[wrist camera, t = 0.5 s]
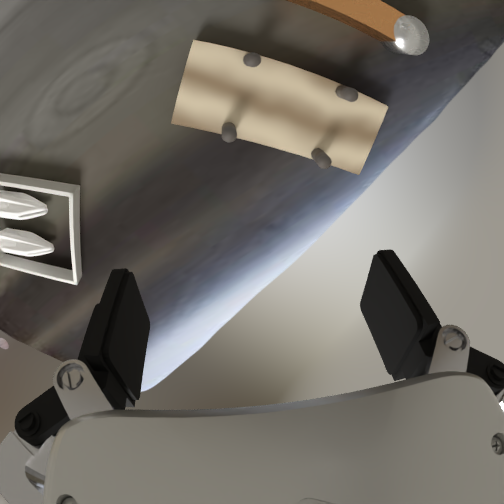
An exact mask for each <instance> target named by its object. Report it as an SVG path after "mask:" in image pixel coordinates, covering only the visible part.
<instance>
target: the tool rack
mask: <svg viewBox="0 0 504 504" xmlns="http://www.w3.org/2000/svg"><path fill="white" fill-rule="evenodd" d="M387 109H388V106H386V105H384V104H382V103H380V102H378V101H376V100H374V99H372V98H370V97H368V96H366V95H364V94H362V93H359V92H357V90H356V89H354V88H351V87H347V86H344V85H341V84H339V83H337V82H334V81H332V80H329V79H327V78H324V77H322V76H319V75H317V74H314V73H311V72H309V71H306V70H303V69H300V68H297V67H295V66H292V65H289V64H286V63H283V62H280V61H276V60H273V59H270V58H267V57H263V56H260V55H259V54H257V53H255V52H252V53H249V52H245V51H242V50H238V49H234V48H230V47H225V46H221V45H217V44H212V43H207V42H202V41H197V40H193V43H192V46H191V50H190V53H189V56H188V60H187V63H186V67H185V70H184V74H183V78H182V81H181V85H180V89H179V93H178V97H177V101H176V105H175V109H174V113H173V117H172V122H171V124H177V125H182V126H187V127H192V128H196V129H201V130H206V131H210V132H215V133H219V134H222V139H223V140H224V141H226V142H233V141H234V140H235V139H236V138H240V139H244V140H248V141H251V142H255V143H259V144H263V145H266V146H270V147H274V148H277V149H281V150H284V151H287V152H291V153H294V154H297V155H301V156H304V157H307V158H310V159H314V161H315V162H316V163H317V164H318V165H319V167H320V168H322V169H327V168H329V167H330V166H331V165H332V166H335V167H338V168H341V169H344V170H346V171H349V172H352V173H355V174H358V175H359V174H360V172H361V170H362V168H363V165H364V163H365V161H366V159H367V156H368V154H369V152H370V149H371V147H372V145H373V143H374V140H375V138H376V135H377V133H378V131H379V128H380V126H381V124H382V121H383V119H384V116H385V114H386V111H387Z"/></svg>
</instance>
